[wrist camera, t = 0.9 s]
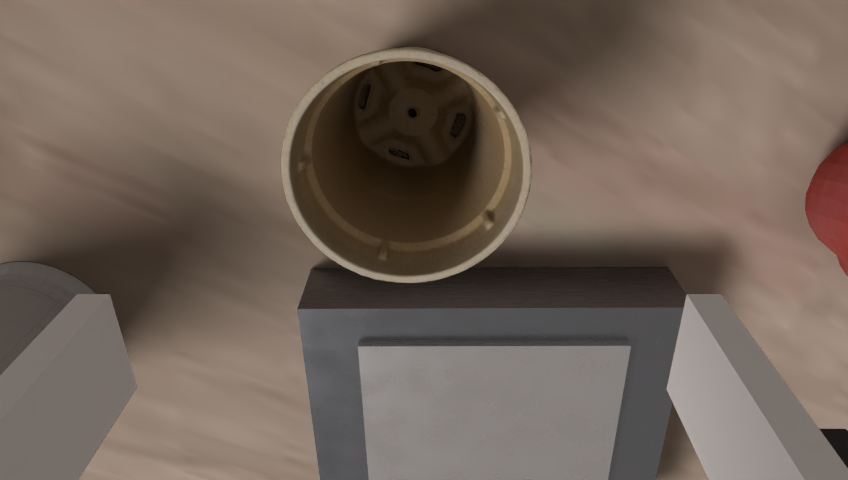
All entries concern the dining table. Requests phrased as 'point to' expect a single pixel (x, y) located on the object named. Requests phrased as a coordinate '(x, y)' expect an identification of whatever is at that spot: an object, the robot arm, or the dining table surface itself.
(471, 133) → the flower pot
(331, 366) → the gray square platform
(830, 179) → the vegetable
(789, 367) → the dining table surface
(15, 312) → the grey pitcher
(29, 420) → the robot arm
